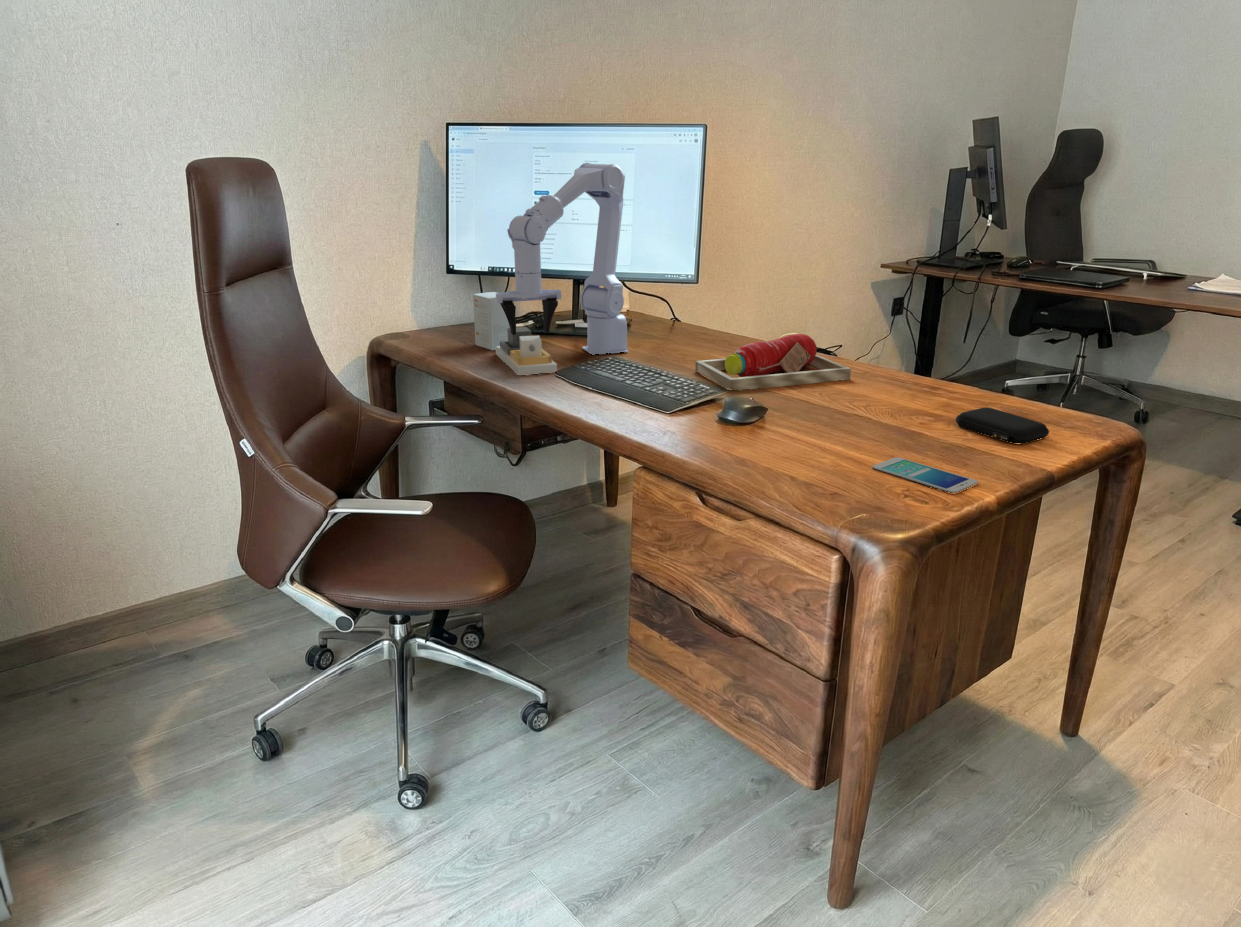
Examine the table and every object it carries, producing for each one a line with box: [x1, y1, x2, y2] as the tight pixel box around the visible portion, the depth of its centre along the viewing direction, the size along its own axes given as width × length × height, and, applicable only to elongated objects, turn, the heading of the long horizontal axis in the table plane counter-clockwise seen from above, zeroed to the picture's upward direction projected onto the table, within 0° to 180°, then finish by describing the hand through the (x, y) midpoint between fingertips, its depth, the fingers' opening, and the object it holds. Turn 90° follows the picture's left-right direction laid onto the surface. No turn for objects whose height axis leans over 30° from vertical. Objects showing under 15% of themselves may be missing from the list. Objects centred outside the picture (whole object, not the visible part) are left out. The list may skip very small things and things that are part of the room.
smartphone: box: [872, 457, 979, 493], centre depth 145 cm, size 7×1×15 cm
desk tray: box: [694, 353, 852, 391], centre depth 203 cm, size 29×17×2 cm, turn 110°
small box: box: [472, 291, 510, 351], centre depth 228 cm, size 8×6×13 cm
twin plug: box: [507, 326, 532, 348], centre depth 215 cm, size 4×7×5 cm
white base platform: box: [495, 341, 558, 375], centre depth 213 cm, size 9×22×4 cm, turn 20°
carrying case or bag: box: [955, 407, 1050, 444], centre depth 166 cm, size 11×3×15 cm
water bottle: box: [725, 333, 818, 377], centre depth 203 cm, size 12×8×25 cm
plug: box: [519, 335, 543, 358], centre depth 206 cm, size 4×7×5 cm
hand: (530, 332), depth 206 cm, fingers open, 7 cm apart
